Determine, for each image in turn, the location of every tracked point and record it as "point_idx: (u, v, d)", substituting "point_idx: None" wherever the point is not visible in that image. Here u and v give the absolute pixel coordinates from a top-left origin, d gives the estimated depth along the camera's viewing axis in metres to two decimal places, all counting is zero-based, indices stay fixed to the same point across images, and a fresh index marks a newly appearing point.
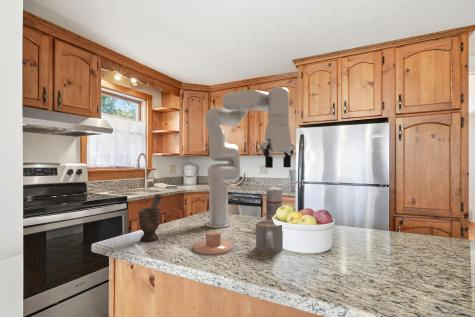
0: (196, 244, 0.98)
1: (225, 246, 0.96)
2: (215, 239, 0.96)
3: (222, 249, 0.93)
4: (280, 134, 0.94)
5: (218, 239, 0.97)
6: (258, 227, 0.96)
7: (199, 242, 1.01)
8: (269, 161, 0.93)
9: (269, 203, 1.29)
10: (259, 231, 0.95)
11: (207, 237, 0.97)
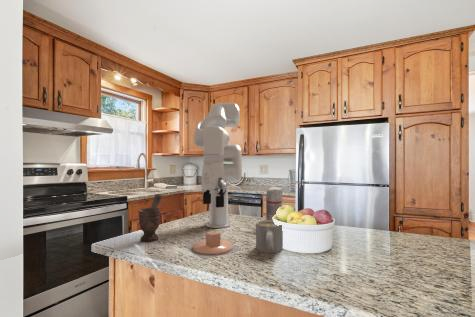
0: (196, 244, 0.98)
1: (225, 246, 0.96)
2: (215, 239, 0.96)
3: (222, 249, 0.93)
4: None
5: (218, 239, 0.97)
6: (258, 227, 0.96)
7: (199, 242, 1.01)
8: (222, 200, 0.94)
9: (269, 203, 1.29)
10: (259, 231, 0.95)
11: (207, 237, 0.97)
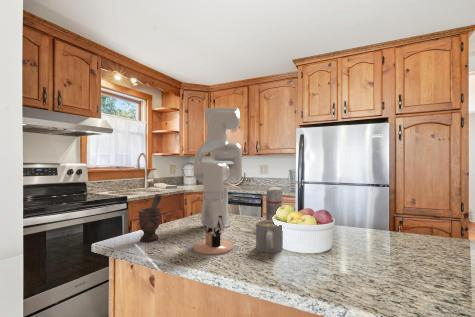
0: (196, 244, 0.98)
1: (225, 246, 0.96)
2: None
3: (222, 249, 0.93)
4: None
5: None
6: (258, 227, 0.96)
7: (199, 242, 1.01)
8: (219, 240, 0.96)
9: (269, 203, 1.29)
10: (259, 231, 0.95)
11: (207, 237, 0.97)
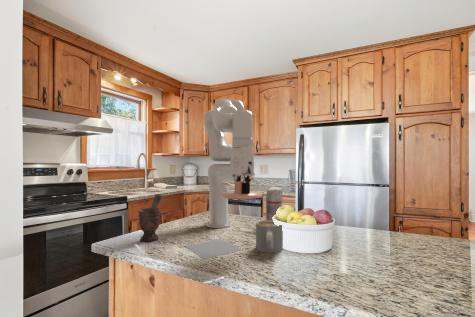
0: (225, 193, 0.98)
1: (254, 194, 0.95)
2: None
3: (252, 195, 0.92)
4: None
5: None
6: (258, 227, 0.96)
7: (227, 192, 1.00)
8: None
9: (269, 203, 1.29)
10: (259, 231, 0.95)
11: (236, 185, 0.97)
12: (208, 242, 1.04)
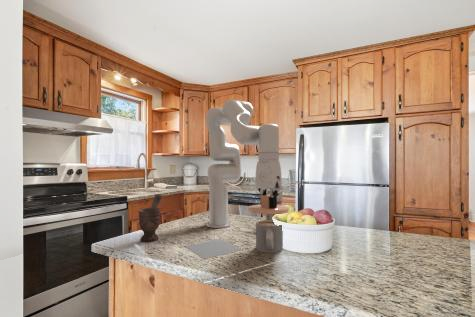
0: (251, 207, 0.97)
1: (281, 208, 0.95)
2: None
3: (281, 209, 0.92)
4: None
5: None
6: (258, 227, 0.96)
7: (253, 206, 0.99)
8: None
9: None
10: (259, 231, 0.95)
11: (263, 199, 0.96)
12: (208, 242, 1.04)
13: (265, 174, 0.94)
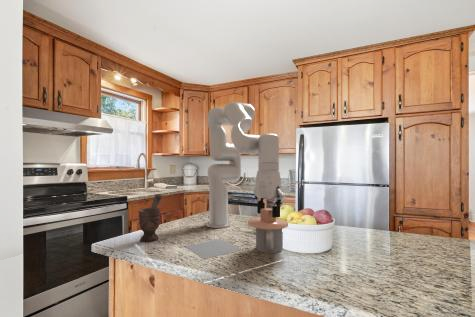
0: (250, 221, 0.97)
1: (281, 222, 0.95)
2: (271, 215, 0.95)
3: (280, 224, 0.92)
4: None
5: None
6: None
7: (252, 219, 0.99)
8: None
9: (269, 203, 1.29)
10: (259, 231, 0.95)
11: (262, 213, 0.96)
12: (208, 242, 1.04)
13: (265, 184, 0.94)
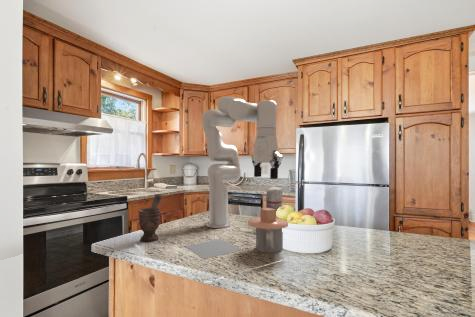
0: (250, 220, 0.97)
1: (281, 222, 0.95)
2: (271, 215, 0.95)
3: (280, 224, 0.92)
4: None
5: (273, 214, 0.96)
6: None
7: (252, 219, 1.00)
8: None
9: (269, 203, 1.29)
10: (259, 231, 0.95)
11: (262, 213, 0.96)
12: (208, 242, 1.04)
13: (262, 148, 0.98)
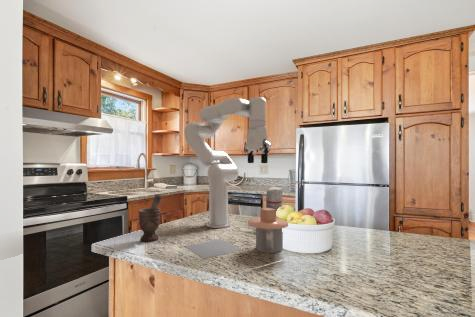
0: (250, 220, 0.97)
1: (281, 222, 0.95)
2: (271, 215, 0.95)
3: (280, 224, 0.92)
4: None
5: (273, 214, 0.96)
6: None
7: (252, 219, 1.00)
8: None
9: (269, 203, 1.29)
10: (259, 231, 0.95)
11: (262, 213, 0.96)
12: (208, 242, 1.04)
13: (254, 138, 1.15)
